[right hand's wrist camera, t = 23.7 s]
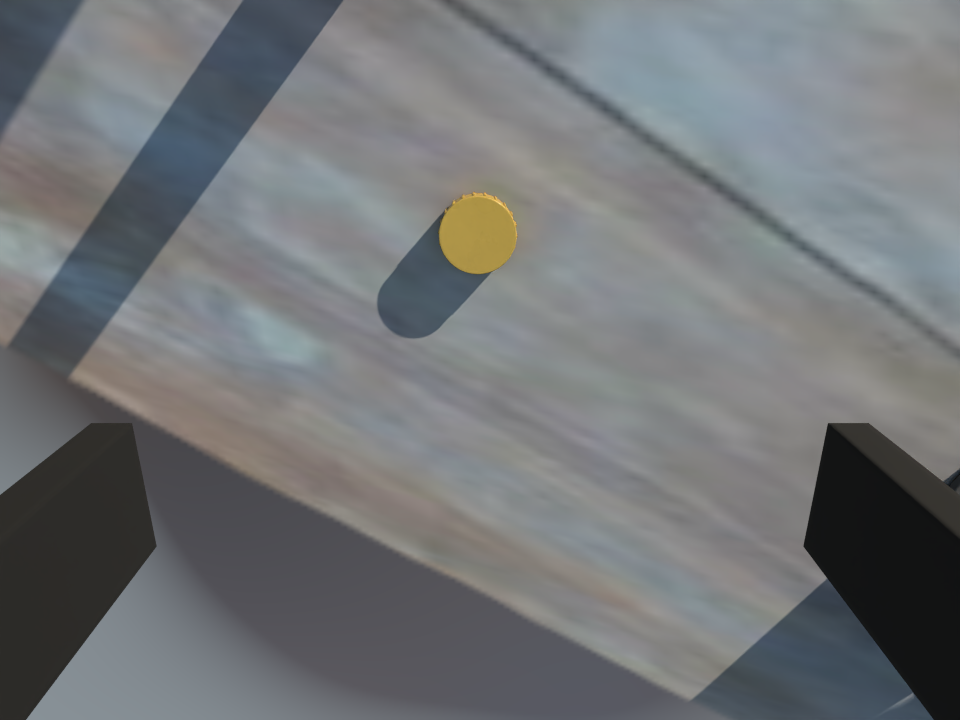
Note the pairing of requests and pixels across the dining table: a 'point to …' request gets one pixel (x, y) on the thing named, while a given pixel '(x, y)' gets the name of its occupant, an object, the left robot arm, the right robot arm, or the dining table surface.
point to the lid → (477, 233)
